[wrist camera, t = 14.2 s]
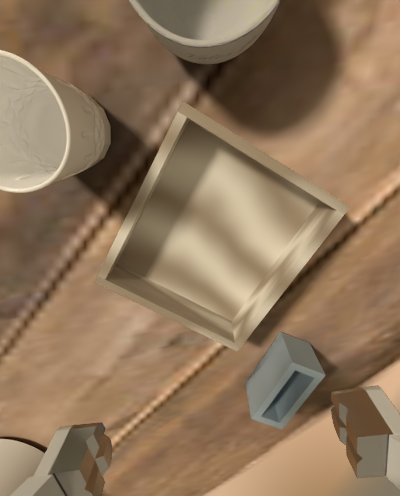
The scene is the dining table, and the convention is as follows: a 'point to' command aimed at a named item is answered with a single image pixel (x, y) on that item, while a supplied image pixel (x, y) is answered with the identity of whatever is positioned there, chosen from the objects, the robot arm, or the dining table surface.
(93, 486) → the robot arm
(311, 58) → the dining table surface
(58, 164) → the white cup
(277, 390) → the box
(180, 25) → the teacup
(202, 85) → the dining table surface
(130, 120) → the dining table surface
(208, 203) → the beige shallow tray
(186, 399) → the dining table surface
